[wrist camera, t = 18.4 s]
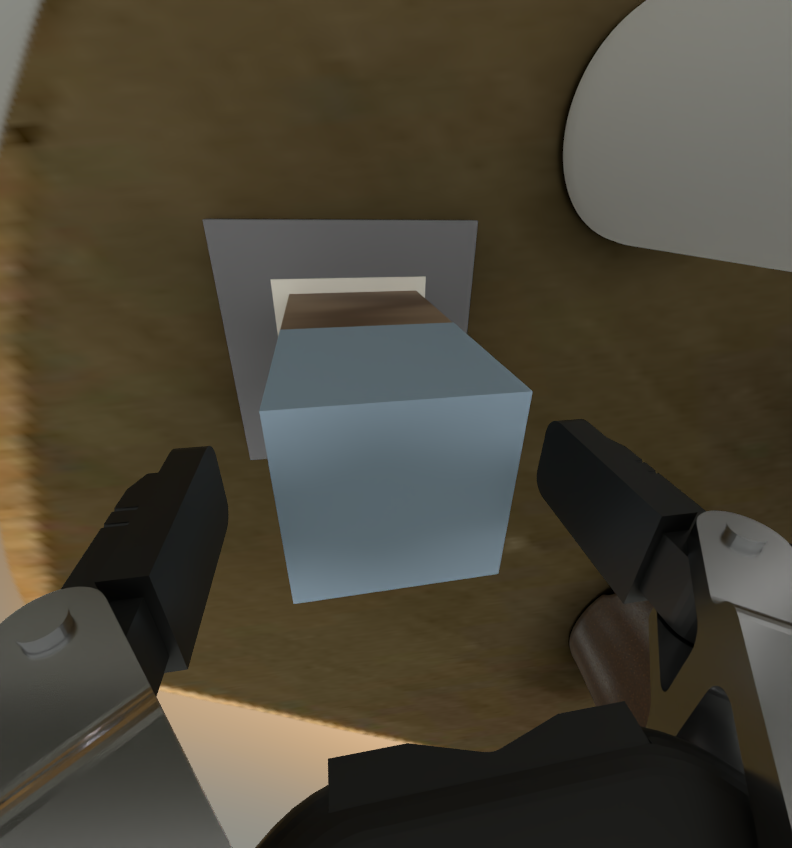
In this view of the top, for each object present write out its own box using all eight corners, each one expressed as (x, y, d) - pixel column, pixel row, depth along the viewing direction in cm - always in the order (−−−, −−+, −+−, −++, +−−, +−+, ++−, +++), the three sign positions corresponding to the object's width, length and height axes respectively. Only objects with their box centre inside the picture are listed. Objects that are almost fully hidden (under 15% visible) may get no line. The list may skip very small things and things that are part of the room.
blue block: (453, 322, 12) (532, 391, 8) (442, 462, 14) (498, 573, 10) (280, 329, 11) (258, 411, 7) (299, 476, 14) (293, 603, 9)
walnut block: (416, 290, 16) (453, 322, 12) (412, 401, 19) (442, 462, 14) (289, 293, 15) (279, 330, 11) (302, 409, 18) (299, 476, 14)
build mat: (472, 220, 16) (479, 220, 15) (452, 436, 21) (456, 443, 20) (206, 218, 14) (201, 219, 14) (252, 453, 19) (250, 461, 19)
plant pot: (528, 692, 36) (664, 1005, 22) (557, 566, 28) (802, 933, 14) (690, 656, 38) (907, 919, 24) (760, 530, 30) (1145, 814, 16)
